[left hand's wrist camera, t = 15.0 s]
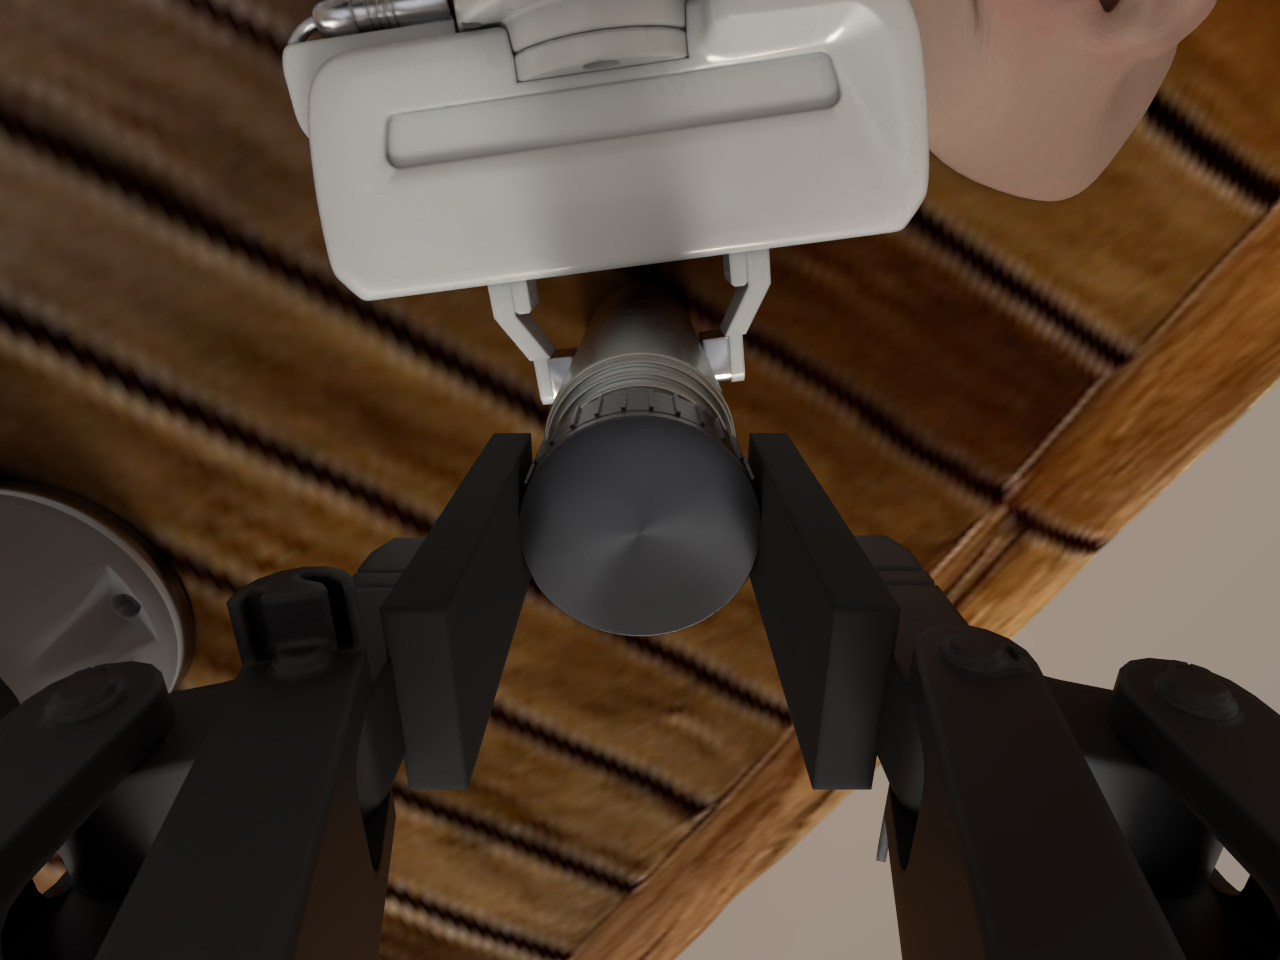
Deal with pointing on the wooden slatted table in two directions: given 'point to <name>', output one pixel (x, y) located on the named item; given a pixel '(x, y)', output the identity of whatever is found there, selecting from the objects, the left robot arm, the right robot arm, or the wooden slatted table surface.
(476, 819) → the wooden slatted table surface
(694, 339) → the bottle
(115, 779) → the left robot arm
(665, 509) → the cap
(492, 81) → the right robot arm
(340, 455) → the wooden slatted table surface
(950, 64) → the anatomical model
